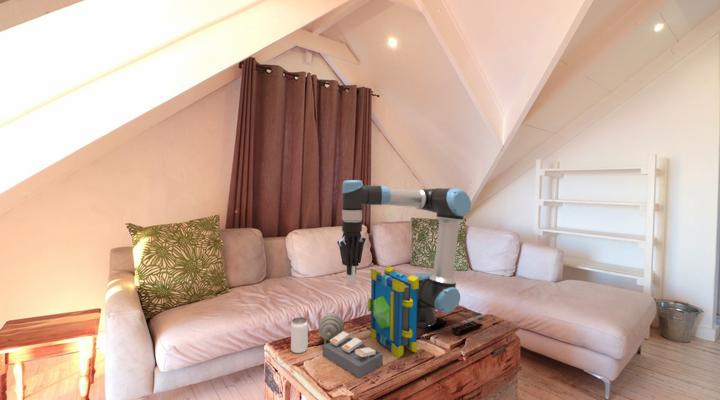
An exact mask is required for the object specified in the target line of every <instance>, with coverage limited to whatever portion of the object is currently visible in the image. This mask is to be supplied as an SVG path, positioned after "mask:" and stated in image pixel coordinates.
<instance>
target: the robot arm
mask: <svg viewBox="0 0 720 400" xmlns="http://www.w3.org/2000/svg"><path fill="white" fill-rule="evenodd" d="M341 189H342V190H341V194H342V197H341V198H342V199H341V200H342V206H341V207H342V208H341V209H342V211H341V212H342V213H341V214H342V216H341V217H342V218H341V219H342V223H341V230H342V233H343V234H342V237H341V239H339V240H337V241H336V244H337V245H338V247H339V252H340V253H339V254H340V257H341V263H342V265H344V266H346V275H347V283H349V284H351V285H353V284H356V274H357V267H358V266H359V264H361V261H362V256H363V252H364V251H363V250H364V245H365V243H366V240H367V239H366V237H363V236H362V233H361V232H362V231H363V222H362V221H363V206H382V205H384V206H396V207H397V206H398V207H410V208H415V209H417V210H422V211H427V212H431V213H435V214H436V216H435V217H436V218H437V220H438V223H439V224H438V231H437V238H436V239H437V240H436V247H435V248H436V249H435V255H434V256H435V258H434V264H433V265H434V266H433V271H432V272H433V274H432V273H429V272H418V273H413V274H411V275H413V276H416V277H418V278H419V289H418V292H417V328H422V329H423V328H426V327H427V326H428V325H429V324H432V323H434V322H436V320H437V315H436V312H435V311H438V312H441V313H444V314H446V313H447V314H449V313H451V312H453V311H455V309H457V307H458V306H459V304H460V300H461V293H460V291H459V290H458V289H457V287H456V286H457V281H456V279H455V278H454V273H455V271H454V270H455V263H456V256H457V255H456V254H457V246H458V237H459V236H458V235H459V229H460V227H459V226H460V223H462V222H463V221H464V216H466V215H467V214H468V213H469V212H470V210H471V206H472V203H471V198H470V195H468V193H467V192H466V191H465V190H463V189H461V188H453V187H451V188H450V187H449V188H439V187H437V188H425V189H424V188H417V189H416V190H413V189H412V190H411V189H401V188H400V189H399V188H391V187H388V186H387V185H364V184H363V180H358V179H356V180H355V179H353V180H352V179H351V180H348V179H347V180H346V179H345V180H344V181H343V183H342V188H341Z"/></svg>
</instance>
